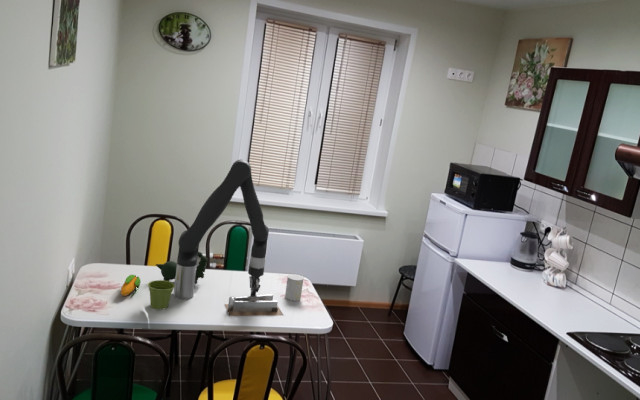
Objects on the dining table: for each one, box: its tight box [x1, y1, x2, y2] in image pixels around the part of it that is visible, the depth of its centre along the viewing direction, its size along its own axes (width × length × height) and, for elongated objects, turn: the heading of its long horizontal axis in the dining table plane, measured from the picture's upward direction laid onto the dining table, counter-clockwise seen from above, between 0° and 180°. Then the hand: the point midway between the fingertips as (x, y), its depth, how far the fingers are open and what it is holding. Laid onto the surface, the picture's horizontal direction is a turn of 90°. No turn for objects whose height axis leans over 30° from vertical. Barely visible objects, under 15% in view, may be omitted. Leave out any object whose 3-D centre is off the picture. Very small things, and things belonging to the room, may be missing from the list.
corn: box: [120, 274, 141, 297], centre depth 259 cm, size 7×8×20 cm
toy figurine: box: [155, 251, 208, 285], centre depth 279 cm, size 9×19×25 cm
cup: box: [284, 274, 305, 302], centre depth 280 cm, size 8×8×12 cm
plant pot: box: [147, 279, 175, 310], centre depth 247 cm, size 12×12×11 cm
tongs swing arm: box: [234, 293, 274, 301], centre depth 262 cm, size 20×2×5 cm, turn 122°
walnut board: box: [224, 303, 284, 317], centre depth 259 cm, size 26×13×1 cm, turn 110°
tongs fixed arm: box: [228, 296, 279, 312], centre depth 258 cm, size 24×4×6 cm, turn 110°
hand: (252, 298), depth 267 cm, fingers closed
